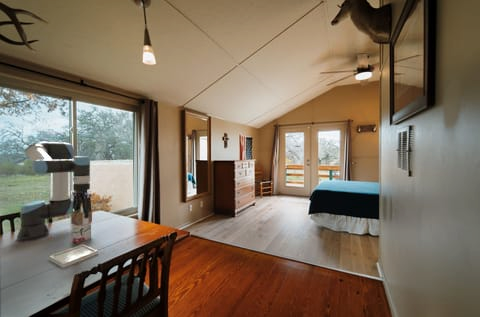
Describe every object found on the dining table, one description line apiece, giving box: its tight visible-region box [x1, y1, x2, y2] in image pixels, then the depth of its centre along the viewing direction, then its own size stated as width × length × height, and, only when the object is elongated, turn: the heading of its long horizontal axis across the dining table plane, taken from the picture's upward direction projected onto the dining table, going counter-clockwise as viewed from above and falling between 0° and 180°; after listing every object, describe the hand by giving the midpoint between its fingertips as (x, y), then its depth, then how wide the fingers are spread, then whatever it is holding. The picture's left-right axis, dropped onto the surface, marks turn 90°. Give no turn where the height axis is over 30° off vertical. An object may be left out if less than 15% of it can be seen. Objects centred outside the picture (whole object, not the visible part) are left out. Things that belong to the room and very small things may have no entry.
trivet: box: [48, 243, 99, 269], centre depth 110 cm, size 16×16×2 cm
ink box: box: [72, 222, 92, 244], centre depth 131 cm, size 9×5×12 cm, turn 168°
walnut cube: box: [70, 208, 93, 226], centre depth 115 cm, size 7×7×7 cm
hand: (81, 222), depth 115 cm, fingers closed on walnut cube, 7 cm apart
